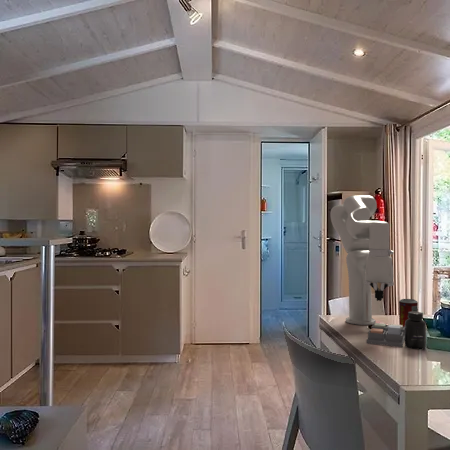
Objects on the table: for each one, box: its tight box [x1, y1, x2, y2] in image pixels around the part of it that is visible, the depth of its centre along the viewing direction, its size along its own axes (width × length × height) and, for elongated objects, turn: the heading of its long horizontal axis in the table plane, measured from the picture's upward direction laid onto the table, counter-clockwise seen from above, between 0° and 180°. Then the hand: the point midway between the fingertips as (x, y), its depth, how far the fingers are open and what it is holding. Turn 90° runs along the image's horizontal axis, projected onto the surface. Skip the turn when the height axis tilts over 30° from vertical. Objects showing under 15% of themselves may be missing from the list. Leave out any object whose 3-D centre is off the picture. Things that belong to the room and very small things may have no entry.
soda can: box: [398, 298, 419, 326], centre depth 177 cm, size 7×7×12 cm
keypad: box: [366, 324, 405, 348], centre depth 164 cm, size 20×12×3 cm, turn 154°
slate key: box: [388, 324, 401, 335], centre depth 158 cm, size 4×4×2 cm
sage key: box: [374, 322, 387, 328], centre depth 170 cm, size 4×4×2 cm
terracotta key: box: [371, 327, 383, 334], centre depth 161 cm, size 4×4×2 cm
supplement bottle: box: [404, 311, 427, 350], centre depth 152 cm, size 7×7×12 cm
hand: (379, 300), depth 171 cm, fingers closed
